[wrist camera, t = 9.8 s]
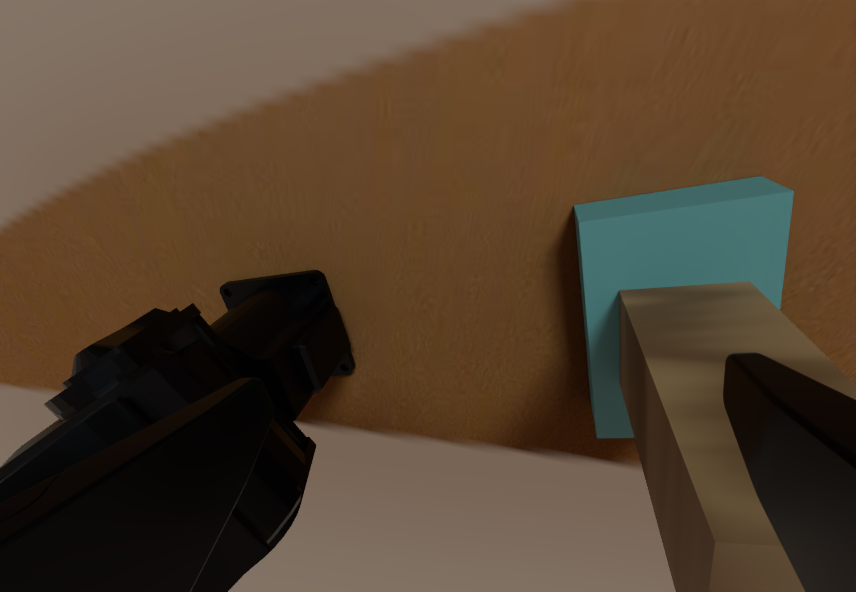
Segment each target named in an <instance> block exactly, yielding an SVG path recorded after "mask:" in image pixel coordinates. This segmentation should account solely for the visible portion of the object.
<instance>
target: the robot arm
mask: <svg viewBox="0 0 856 592" xmlns="http://www.w3.org/2000/svg"><path fill="white" fill-rule="evenodd" d="M313 277H315V278H316V279H317V280H318V283H316V282H315V281H314V280H313ZM228 289H229V290H230V291H231V292H232V293H230V292H229V290H228ZM220 294H221V296H222V298H223V300H224V302H225V305H226V307H227V309H228V312H227V313H225V314H224V315H223V316H222V317H220V318H219V319H218V320H216V321H215V322H214V323H213V324H211V325H210V326H209V325H208V324H207V322H206V321H205V320H204V319H203V318H202V317H201V315H200V313H201V312H200V311H199V309H198V308H197V307H196V306H195V305H194V304H193V303H192V304H191V305H189V306H188V307H186V308H185V309H183V310H182V311H179V310H178V309H177V308H175V309H174V310H172V311H171V312H167V311H164V310H160V309H157V308H155V309H153V310H151V311H150V312H148V313H147V314H145V315H143V316H142V317H140V318H138V319H137V320H135V321H134V322H132V323H130V324H129V325H127V326H125V327H124V328H122V329H120V330H118V331H116V332H114V333H112V334H111V335H109V336H107V337H105V338H103V339H101V340H99V341H97V342H95V343H93V344H92V345H90V346H88V347H87V348H85V349H84V350H82V351H81V352H79V353H78V354H76V355H75V358H74V364H73V369H72V374H71V378H69V379H68V380H67V381H65V382H64V383H62V384H61V385H62V386H63V387H64V388H65V390H64V391H62V392H61V393H59V394H58V395H57V396H55V397H54V398H52V399H51V400H49V401H48V402H46V403H45V404H44V405H45V406H46V407H47V408H48V409H49V410H50V411H51V412H52V413H53V414H54V415H55V416H57V417H58V418H59V420H58V421H56V422H54V423H53V424H52V425H50V426H49V427H47V428H46V429H45V430H43V431H42V432H41V433H39V434H38V435H36V436H35V437H33V438H32V439H31V440H29V441H28V442H26V443H25V444H24V445H22V446H21V447H20V448H19V449H18V450H16V451H15V452H14V453H13V454H12V456H11V457H10V458H9V459H8V460H7V461H6V462H5V463H4V464H3V465H2V466H1V467H0V592H228V591H229V589H231V587H232V586H233V585H234V584H235V583H236V582H237V581H238V580H239V579H240V578H241V577H242V576H243V575H244V574H245V573H246V572H247V571H249V570H250V569H251V568H252V567H253V566H254V565H255V564H257V563H258V562H259V561H260V560H262V559H263V558H264V557H265V556H266V555H267V554H268V553H269V552H270V551H271V550H272V549H273V548H274V547H275V546H276V545H277V544H278V542H279V541H280V540H281V539H282V538H283V537H284V535H285V534H286V532H287V531H288V529H289V528H290V527H291V525H292V523H293V521H294V519H295V518H296V516H297V513H298V511H299V508H300V505H301V501H302V498H303V494H304V490H305V486H306V482H307V478H308V475H309V471H310V467H311V464H312V460H313V456H314V452H315V449H316V444H315V443H314V442H313V441H312V440H311V439H310V437H306V436H305V435H304V434H303V432H302V431H301V430H300V429H299V428H298V427H297V426H296V424H295V423H294V422H293V421H295V420H296V418H297V417H298V415H299V414H300V413H301V411H302V410H303V408H304V407H305V405H306V404H307V402H308V401H309V399H310V398H311V397H312V395H313V394H314V393H319V392H320V391H321V389H322V388H323V386H324V385H325V383H326V382H327V380H328V379H329V377H330V376H337V375H349V374H351V373H352V371H353V370H354V368H355V362H354V359H353V356H352V354H351V351H350V342H349V339H348V336H347V333H346V330H345V327H344V325H343V322H342V319H341V316H340V313H339V310H338V308H337V307H336V306H335V304H334V301H333V298H332V295H331V292H330V289H329V286H328V284H327V281H326V278H325V276H324V274H323V273H322V272H320V271H318V270H310V271H303V272H296V273H289V274H281V275H274V276H267V277H259V278H252V279H245V280H238V281H230V282H227V283H225V284H224V285H222V286H221V287H220ZM343 364H346V365H347V366H348V367H345V366H344V365H343ZM723 402H724V406H725V410H726V413H727V415H728V418H729V421H730V424H731V426H732V429H733V432H734V435H735V437H736V440H737V443H738V446H739V448H740V451H741V454H742V457H743V459H744V462H745V465H746V468H747V470H748V473H749V476H750V479H751V481H752V484H753V487H754V489H755V492H756V494H757V496H758V499H759V501H760V503H761V505H762V507H763V509H764V511H765V513H766V515H767V517H768V519H769V521H770V523H771V525H772V527H773V529H774V531H775V533H776V535H777V537H778V539H779V541H780V543H781V545H782V547H783V549H784V551H785V553H786V555H787V557H788V559H789V561H790V563H791V565H792V567H793V569H794V571H795V573H796V575H797V577H798V579H799V581H800V583H801V585H802V587H803V588H804V590H805V592H856V400H855V399H853V398H851V397H849V396H847V395H845V394H843V393H841V392H839V391H837V390H835V389H832V388H830V387H828V386H826V385H824V384H822V383H820V382H818V381H816V380H814V379H812V378H810V377H808V376H806V375H804V374H802V373H800V372H797V371H795V370H793V369H791V368H789V367H787V366H785V365H783V364H781V363H779V362H777V361H775V360H773V359H771V358H769V357H767V356H765V355H762V354H760V353H757V352H749V353H732V354H729V355H728V356H727V358H726V361H725V372H724V385H723Z"/></svg>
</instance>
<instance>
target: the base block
mask: <svg viewBox="0 0 856 592" xmlns="http://www.w3.org/2000/svg"><path fill="white" fill-rule="evenodd" d="M793 194H794V191H792V190H790V189H788V188H786V187H784V186H782V185H779V184H777V183H775V182H773V181H771V180H769V179H766V178H764V177H762V176H758V177H752V178H746V179H739V180H733V181H726V182H720V183H714V184H707V185H701V186H694V187H688V188H681V189H675V190H669V191H662V192H656V193H649V194H643V195H636V196H630V197H624V198H617V199H611V200H604V201H598V202H591V203H585V204H579V205H574V213H575V225H576V236H577V248H578V259H579V271H580V282H581V294H582V305H583V317H584V328H585V340H586V351H587V363H588V374H589V385H590V397H591V407H592V413H593V419H594V425H595V430H596V436H597V438H634V435H633V431H632V427H631V424H630V420H629V416H628V412H627V409H626V405H625V401H624V398H623V394H622V390H621V387H620V383H619V290H631V289H646V288H660V287H675V286H689V285H704V284H719V283H733V282H748V281H750V282H751V283H752V284H753V285H754V286H755V287H756V288H757V289H758V290H759V291H760V292H761V293H762V294H763V295H764V296H765V297H766V298H767V299H769V300H770V301H771V302H772V303H773V304H774V305H775V306H776V307H777V308H778V309H779V310H780V305H781V297H782V288H783V280H784V271H785V263H786V254H787V246H788V237H789V229H790V220H791V212H792V203H793Z"/></svg>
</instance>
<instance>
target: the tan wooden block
mask: <svg viewBox="0 0 856 592" xmlns="http://www.w3.org/2000/svg"><path fill="white" fill-rule="evenodd" d="M749 352H757V353H760V354H762V355H765V356H767V357H769V358H771V359H773V360H775V361H777V362H779V363H781V364H783V365H785V366H787V367H789V368H791V369H793V370H795V371H797V372H800V373H802V374H804V375H806V376H808V377H810V378H812V379H814V380H816V381H818V382H820V383H822V384H824V385H826V386H828V387H830V388H832V389H835V390H837V391H839V392H841V393H843V394H845V395H847V396H849V397H851V398H853V399H855V400H856V385H855V384H854V383H853V382H852V381H851V380H850V379H849V378H848V377H847V376H846V375H845V374H844V373H843V372H842V371H841V370H840V369H839V368H838V367H837V366H836V365H835V364H834V363H833V362H832V361H831V360H830V359H829V358H828V357H827V356H826V355H825V354H824V353H823V352H822V351H821V350H820V349H819V348H818V347H817V346H816V345H814V344H813V343H812V342H811V341H810V340H809V339H808V338H807V337H806V336H805V335H804V334H803V333H802V332H801V331H800V330H799V329H798V328H797V327H796V326H795V325H794V324H793V323H792V322H791V321H790V320H789V319H788V318H787V317H786V316H785V315H784V314H783V313H782V312H781V311H780V310H779V309H778V308H777V307H776V306H775V305H774V304H773V303H772V302H771V301H770V300H769V299H767V298H766V297H765V296H764V295H763V294H762V293H761V292H760V291H759V290H758V289H757V288H756V287H755V286H754V285H753V284H752V283H751V282H750V281H748V282H733V283H719V284H704V285H689V286H675V287H660V288H646V289H631V290H619V383H620V387H621V390H622V394H623V398H624V401H625V405H626V409H627V412H628V416H629V420H630V424H631V427H632V431H633V435H634V438H635V442H636V446H637V449H638V453H639V457H640V461H641V464H642V468H643V472H644V475H645V479H646V483H647V486H648V490H649V494H650V497H651V501H652V505H653V508H654V512H655V516H656V519H657V523H658V527H659V530H660V535H661V538H662V542H663V545H664V549H665V553H666V557H667V560H668V564H669V568H670V571H671V575H672V579H673V582H674V586H675V590H676V592H805V590H804V588H803V587H802V585H801V583H800V581H799V579H798V577H797V575H796V573H795V571H794V569H793V567H792V565H791V563H790V561H789V559H788V557H787V555H786V553H785V551H784V549H783V547H782V545H781V543H780V541H779V539H778V537H777V535H776V533H775V531H774V529H773V527H772V525H771V523H770V521H769V519H768V517H767V515H766V513H765V511H764V509H763V507H762V505H761V503H760V501H759V499H758V496H757V494H756V492H755V489H754V487H753V484H752V481H751V479H750V476H749V473H748V470H747V468H746V465H745V462H744V459H743V457H742V454H741V451H740V448H739V446H738V443H737V440H736V437H735V435H734V432H733V429H732V426H731V424H730V421H729V418H728V415H727V413H726V410H725V406H724V402H723V385H724V372H725V361H726V358H727V356H728V355H729V354H732V353H749Z"/></svg>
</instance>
